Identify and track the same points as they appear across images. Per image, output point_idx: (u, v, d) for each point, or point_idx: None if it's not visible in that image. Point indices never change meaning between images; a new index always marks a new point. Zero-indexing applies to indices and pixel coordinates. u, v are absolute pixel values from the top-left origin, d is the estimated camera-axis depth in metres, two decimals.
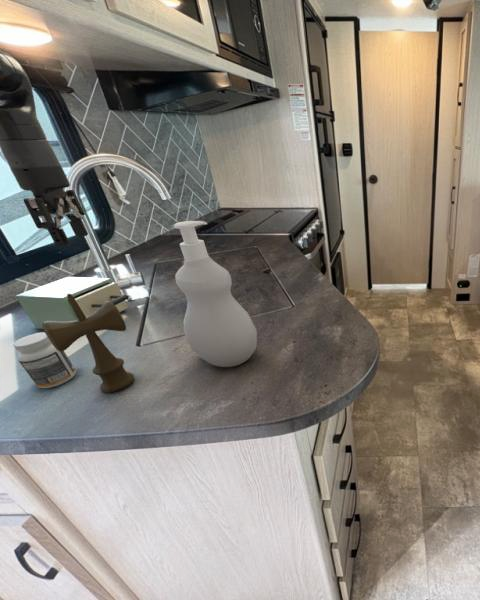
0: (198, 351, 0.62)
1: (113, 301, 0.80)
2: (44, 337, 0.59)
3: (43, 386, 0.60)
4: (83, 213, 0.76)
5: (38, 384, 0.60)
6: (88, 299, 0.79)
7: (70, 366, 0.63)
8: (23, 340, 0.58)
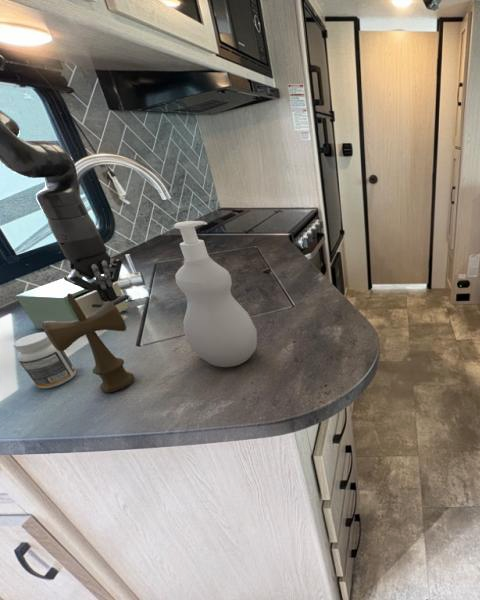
0: (198, 351, 0.62)
1: (113, 301, 0.80)
2: (44, 337, 0.59)
3: (43, 386, 0.60)
4: (115, 279, 0.81)
5: (38, 384, 0.60)
6: (88, 299, 0.79)
7: (70, 366, 0.63)
8: (23, 340, 0.58)
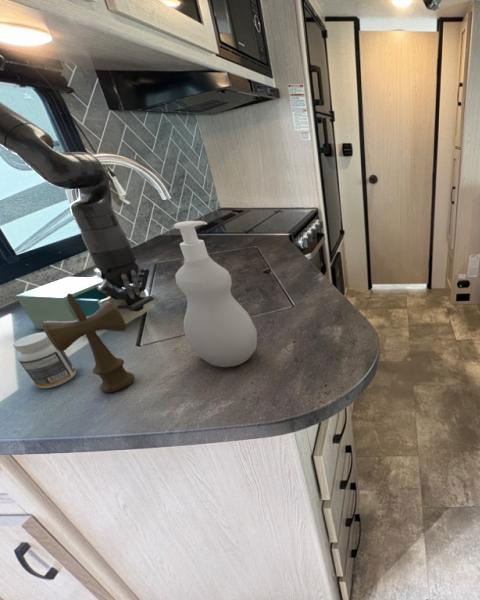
0: (198, 351, 0.62)
1: (139, 302, 0.79)
2: (44, 337, 0.59)
3: (43, 386, 0.60)
4: (142, 288, 0.81)
5: (38, 384, 0.60)
6: (114, 300, 0.78)
7: (70, 366, 0.63)
8: (23, 340, 0.58)
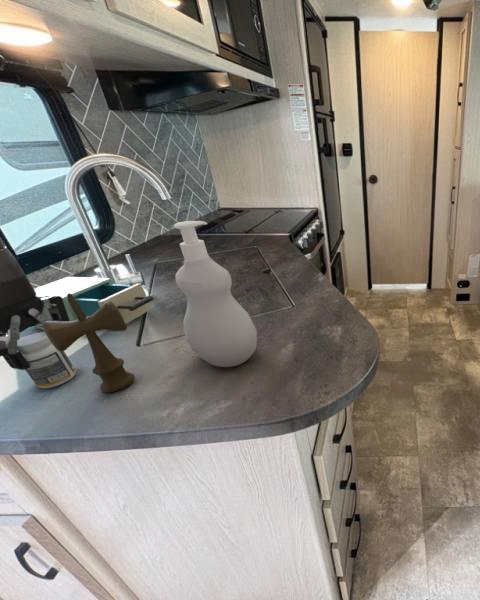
0: (198, 351, 0.62)
1: (139, 302, 0.79)
2: (44, 337, 0.59)
3: (43, 386, 0.60)
4: None
5: (38, 384, 0.60)
6: (114, 300, 0.78)
7: (70, 366, 0.63)
8: (23, 340, 0.58)
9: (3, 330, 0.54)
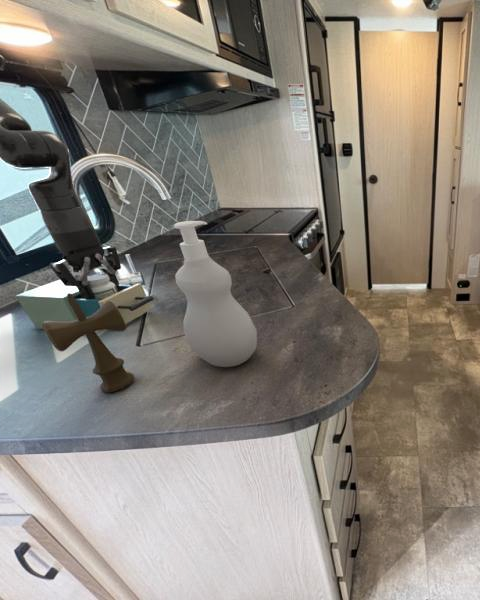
0: (198, 351, 0.62)
1: (139, 302, 0.79)
2: (105, 276, 0.79)
3: None
4: None
5: None
6: (114, 300, 0.78)
7: None
8: (90, 278, 0.78)
9: (78, 267, 0.74)
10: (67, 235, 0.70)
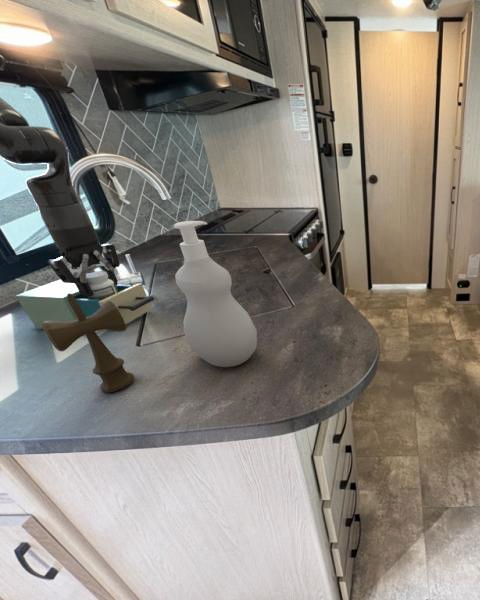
0: (198, 351, 0.62)
1: (139, 302, 0.79)
2: (103, 273, 0.78)
3: None
4: None
5: None
6: (114, 300, 0.78)
7: None
8: (88, 275, 0.78)
9: (77, 264, 0.74)
10: (65, 232, 0.70)
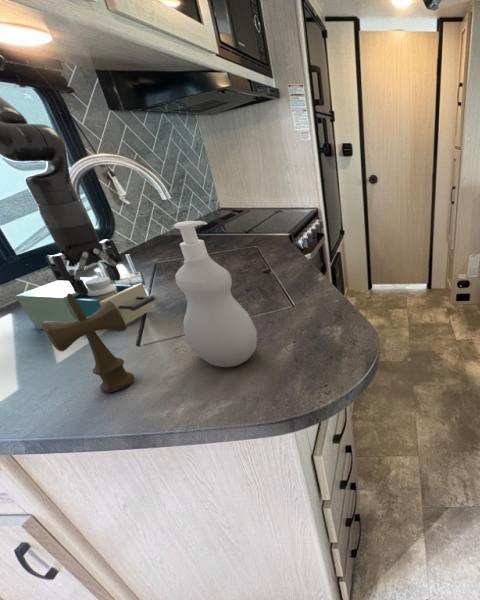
0: (198, 351, 0.62)
1: (140, 302, 0.79)
2: (106, 279, 0.79)
3: None
4: None
5: None
6: (115, 300, 0.78)
7: None
8: (91, 280, 0.78)
9: (76, 262, 0.73)
10: (65, 230, 0.70)
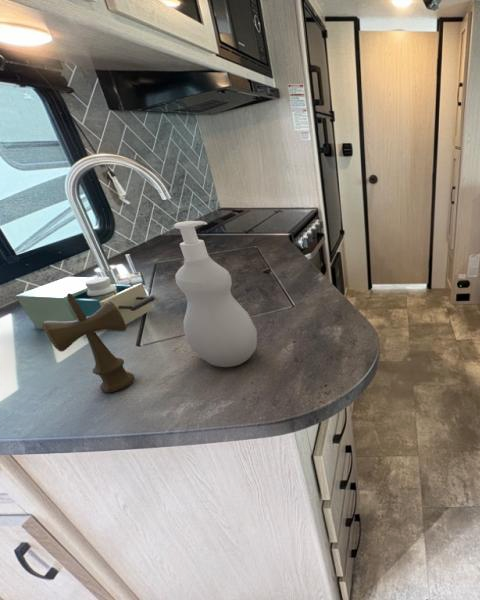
0: (198, 351, 0.62)
1: (140, 302, 0.79)
2: (106, 279, 0.79)
3: None
4: None
5: None
6: (115, 300, 0.78)
7: None
8: (91, 280, 0.78)
9: None
10: None
